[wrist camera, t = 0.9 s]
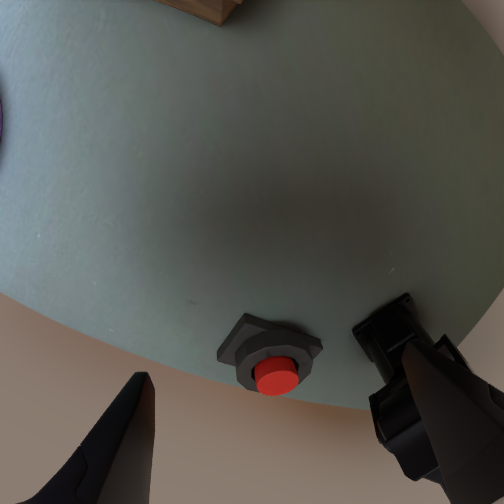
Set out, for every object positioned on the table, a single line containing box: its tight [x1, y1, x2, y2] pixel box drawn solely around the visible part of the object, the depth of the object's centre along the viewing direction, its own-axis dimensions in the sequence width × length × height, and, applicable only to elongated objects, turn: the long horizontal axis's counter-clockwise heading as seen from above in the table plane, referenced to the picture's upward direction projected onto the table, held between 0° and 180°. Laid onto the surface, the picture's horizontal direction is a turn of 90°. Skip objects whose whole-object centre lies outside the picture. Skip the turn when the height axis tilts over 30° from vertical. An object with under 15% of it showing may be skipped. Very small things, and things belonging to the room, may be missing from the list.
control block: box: [217, 314, 323, 393], centre depth 25 cm, size 8×6×3 cm
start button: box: [254, 355, 299, 396], centre depth 23 cm, size 3×3×2 cm
